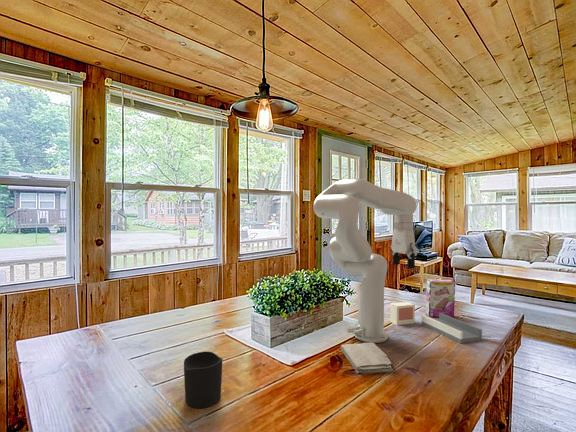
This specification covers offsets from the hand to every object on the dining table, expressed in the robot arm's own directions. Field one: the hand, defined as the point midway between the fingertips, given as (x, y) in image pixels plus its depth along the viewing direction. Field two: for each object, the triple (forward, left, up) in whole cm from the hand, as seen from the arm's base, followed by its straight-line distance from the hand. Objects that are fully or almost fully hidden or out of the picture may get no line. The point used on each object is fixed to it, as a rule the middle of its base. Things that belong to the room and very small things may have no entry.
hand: (403, 266), depth 140 cm
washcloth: (-34, -26, -25) cm, 50 cm away
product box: (0, 0, -24) cm, 24 cm away
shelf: (+11, -15, -24) cm, 30 cm away
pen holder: (-85, -33, -24) cm, 95 cm away
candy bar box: (+22, +2, -24) cm, 33 cm away
